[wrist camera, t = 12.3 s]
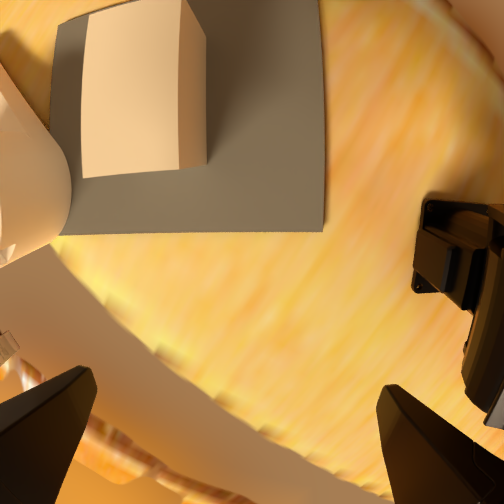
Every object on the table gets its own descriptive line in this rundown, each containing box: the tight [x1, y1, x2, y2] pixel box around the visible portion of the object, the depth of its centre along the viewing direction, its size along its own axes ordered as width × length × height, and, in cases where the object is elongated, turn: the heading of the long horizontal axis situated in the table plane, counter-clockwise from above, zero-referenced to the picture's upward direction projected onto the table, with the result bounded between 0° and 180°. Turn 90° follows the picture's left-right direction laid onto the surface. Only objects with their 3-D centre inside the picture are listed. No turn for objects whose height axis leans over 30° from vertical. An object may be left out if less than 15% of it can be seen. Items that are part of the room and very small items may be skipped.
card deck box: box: [81, 0, 207, 178], centre depth 13 cm, size 8×4×6 cm, turn 1°
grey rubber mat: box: [50, 0, 325, 236], centre depth 16 cm, size 18×16×1 cm
